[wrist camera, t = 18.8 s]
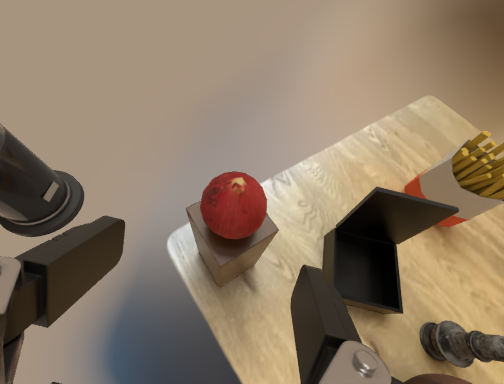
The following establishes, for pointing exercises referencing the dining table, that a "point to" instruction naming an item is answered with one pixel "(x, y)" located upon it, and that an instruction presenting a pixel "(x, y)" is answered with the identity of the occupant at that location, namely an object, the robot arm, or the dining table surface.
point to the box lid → (394, 216)
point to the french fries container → (464, 180)
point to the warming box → (363, 271)
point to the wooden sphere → (436, 379)
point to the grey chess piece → (460, 344)
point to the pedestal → (229, 247)
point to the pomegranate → (233, 205)
